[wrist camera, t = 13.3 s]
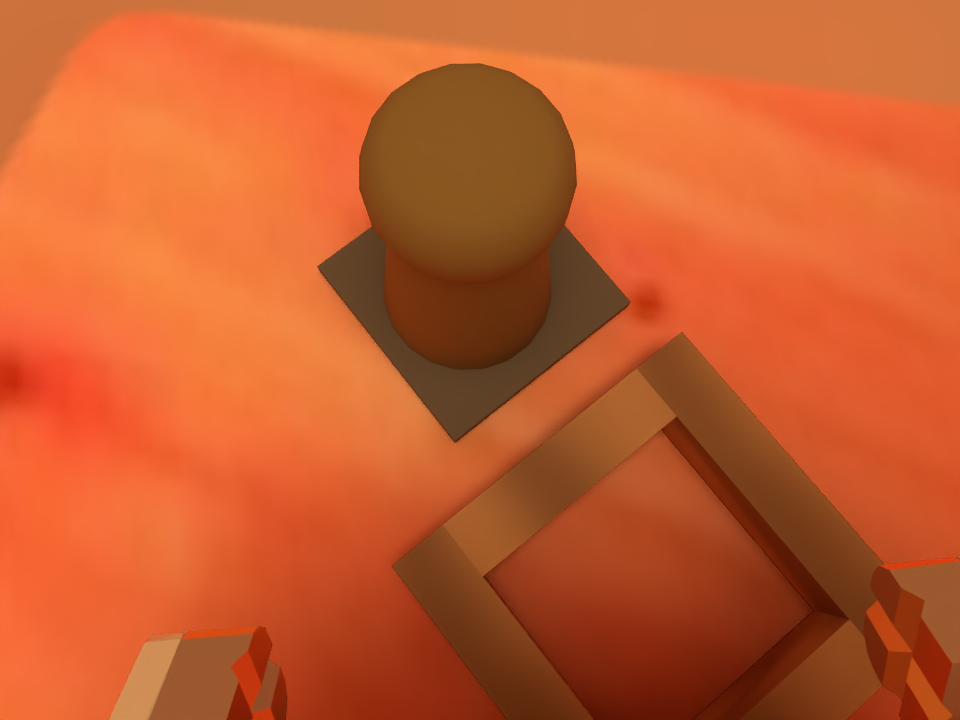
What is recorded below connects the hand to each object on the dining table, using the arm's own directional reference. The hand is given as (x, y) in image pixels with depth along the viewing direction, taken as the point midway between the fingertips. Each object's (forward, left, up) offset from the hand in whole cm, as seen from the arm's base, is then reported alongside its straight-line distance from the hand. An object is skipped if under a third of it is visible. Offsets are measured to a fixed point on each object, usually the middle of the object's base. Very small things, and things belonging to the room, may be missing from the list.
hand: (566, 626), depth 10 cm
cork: (-5, -8, -16) cm, 18 cm away
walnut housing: (-3, +4, -16) cm, 17 cm away
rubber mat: (-5, -8, -16) cm, 19 cm away
